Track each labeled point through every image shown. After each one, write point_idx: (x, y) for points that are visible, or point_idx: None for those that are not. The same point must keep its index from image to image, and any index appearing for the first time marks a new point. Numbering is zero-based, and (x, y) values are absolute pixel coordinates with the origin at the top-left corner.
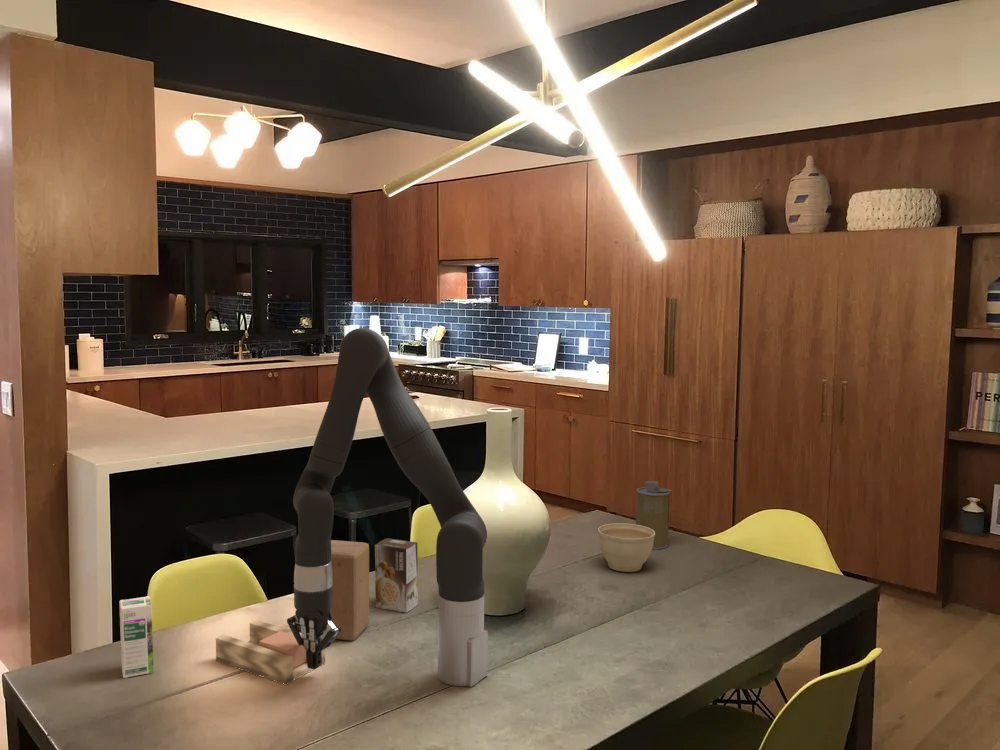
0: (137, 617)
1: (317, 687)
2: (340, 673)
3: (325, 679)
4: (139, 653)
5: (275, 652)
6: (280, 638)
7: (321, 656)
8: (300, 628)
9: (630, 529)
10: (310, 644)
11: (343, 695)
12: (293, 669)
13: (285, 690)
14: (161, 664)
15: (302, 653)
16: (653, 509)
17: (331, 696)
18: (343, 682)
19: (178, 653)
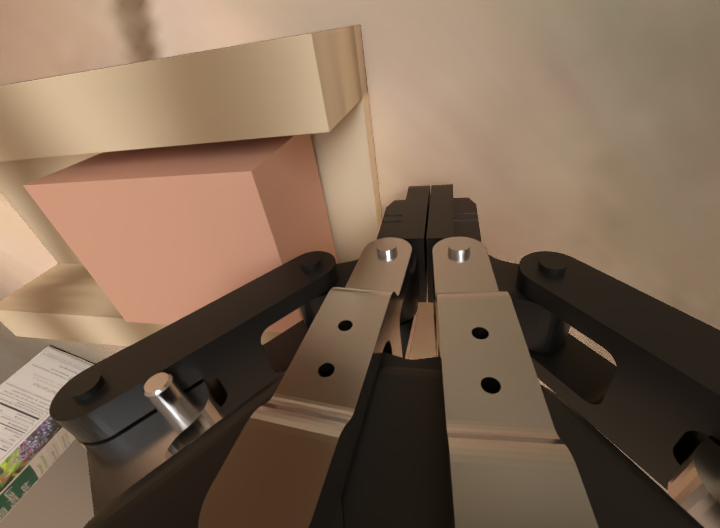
0: None
1: (520, 245)
2: (543, 58)
3: (504, 171)
4: (67, 431)
5: (263, 335)
6: (138, 258)
7: (478, 224)
8: (247, 368)
9: None
10: (406, 313)
11: (706, 239)
12: (331, 228)
13: (420, 311)
14: (67, 341)
15: (300, 199)
16: None
17: (640, 270)
18: (632, 137)
19: (9, 293)
